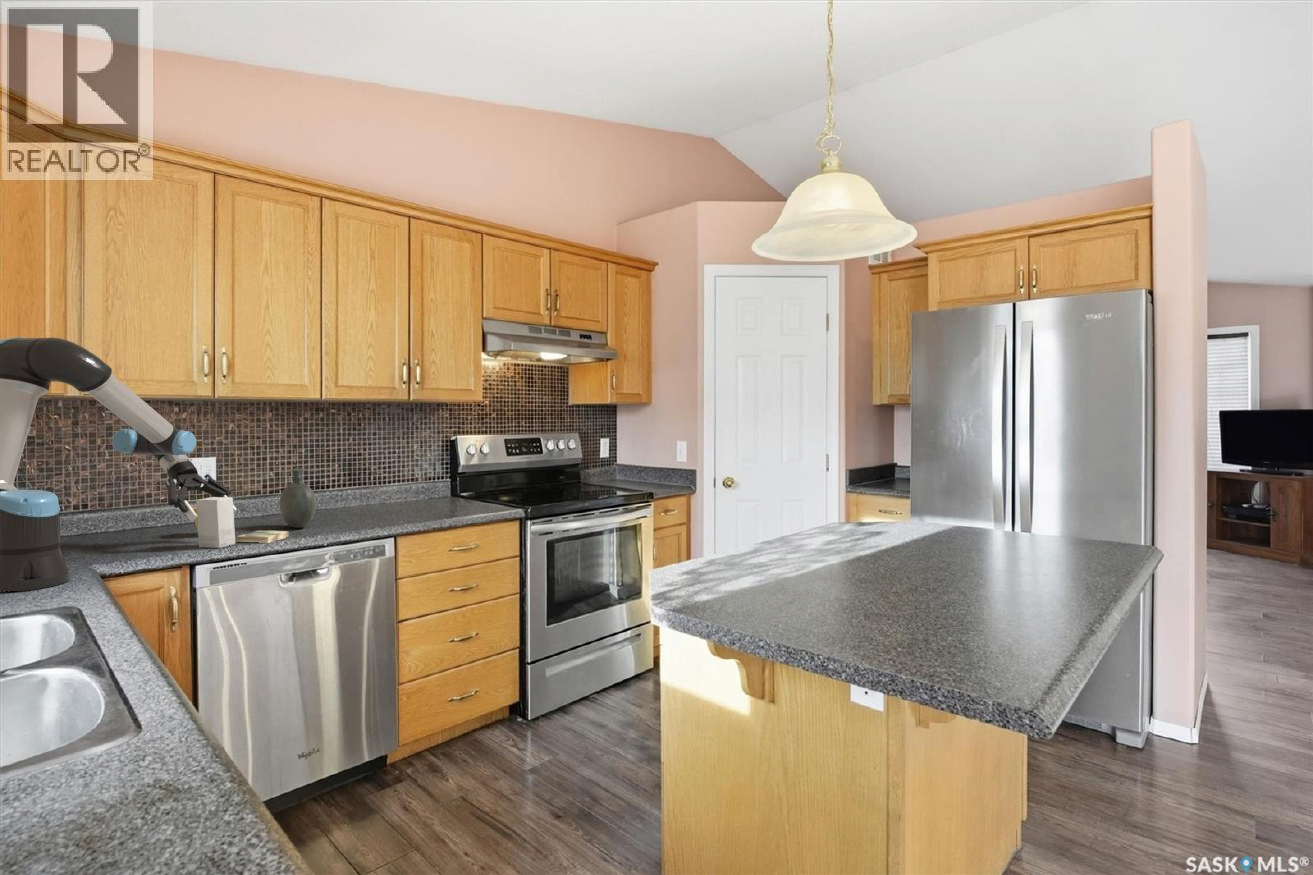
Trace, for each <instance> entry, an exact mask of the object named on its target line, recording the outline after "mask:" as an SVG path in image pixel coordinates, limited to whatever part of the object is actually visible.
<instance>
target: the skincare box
mask: <svg viewBox="0 0 1313 875" xmlns="http://www.w3.org/2000/svg"><path fill="white" fill-rule="evenodd" d="M195 505H196V506H195V507H197V515H198V516H197V522H198V532H197V536H198V547H199V548H208V549H210V548H212V549H221V548H226V547H230V546H234V545H236V532H235V531H236V530H235V513H234V511H233V505H234V497H231V496H229V497H215V496H212V497H204V498H200V499H196V500H195ZM229 545H230V546H229Z"/></svg>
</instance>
